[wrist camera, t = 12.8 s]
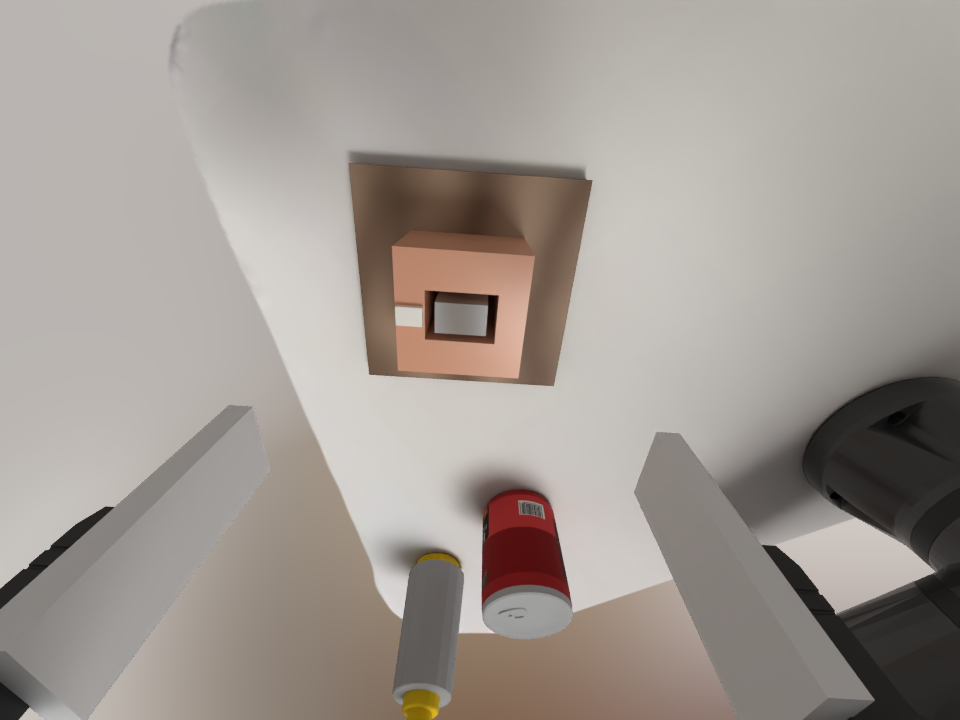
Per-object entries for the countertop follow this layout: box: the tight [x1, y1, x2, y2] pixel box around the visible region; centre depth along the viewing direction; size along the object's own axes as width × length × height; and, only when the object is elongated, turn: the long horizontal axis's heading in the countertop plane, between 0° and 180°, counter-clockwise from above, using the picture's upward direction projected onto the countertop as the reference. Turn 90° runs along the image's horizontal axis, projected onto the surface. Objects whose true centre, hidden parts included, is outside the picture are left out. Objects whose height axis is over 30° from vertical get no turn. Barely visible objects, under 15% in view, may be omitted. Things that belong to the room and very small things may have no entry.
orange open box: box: [392, 230, 535, 379], centre depth 24 cm, size 8×8×6 cm
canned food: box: [482, 490, 573, 639], centre depth 36 cm, size 8×8×11 cm
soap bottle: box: [393, 553, 464, 720], centre depth 38 cm, size 7×7×18 cm
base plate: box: [349, 163, 592, 386], centre depth 25 cm, size 16×16×8 cm
